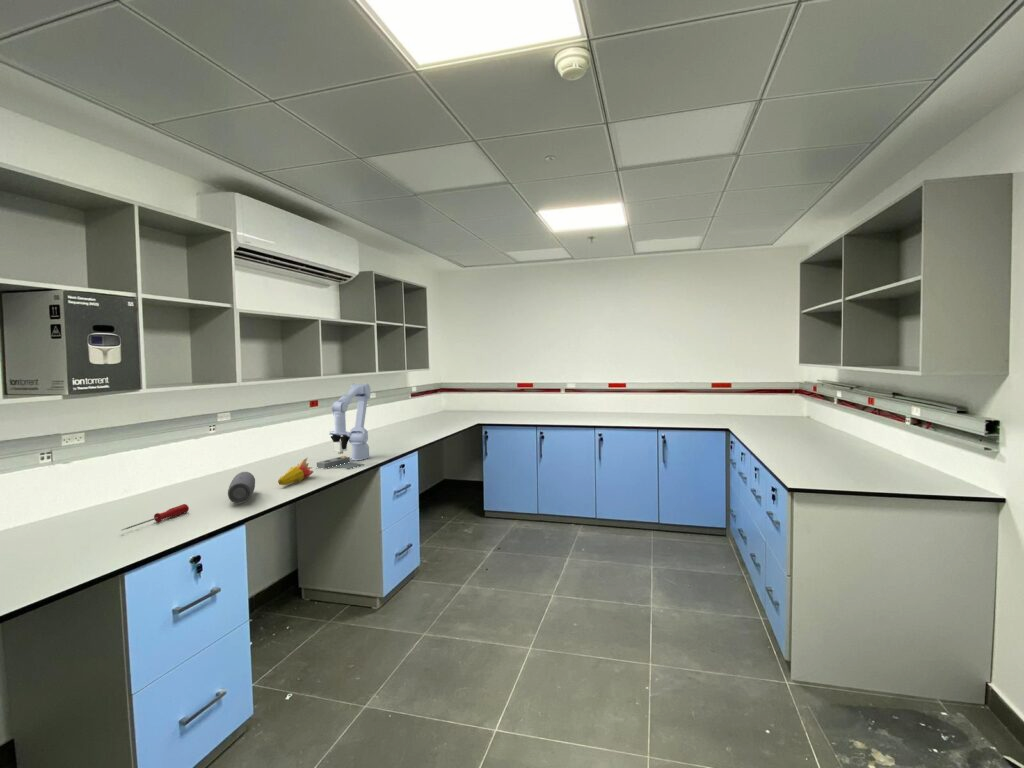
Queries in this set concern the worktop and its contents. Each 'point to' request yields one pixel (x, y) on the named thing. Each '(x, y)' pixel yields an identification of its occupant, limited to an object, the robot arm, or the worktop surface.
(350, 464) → the mat
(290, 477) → the torch
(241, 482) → the bluetooth speaker
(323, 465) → the power strip
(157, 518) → the screwdriver
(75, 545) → the worktop surface
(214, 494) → the worktop surface
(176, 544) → the worktop surface
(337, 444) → the block
